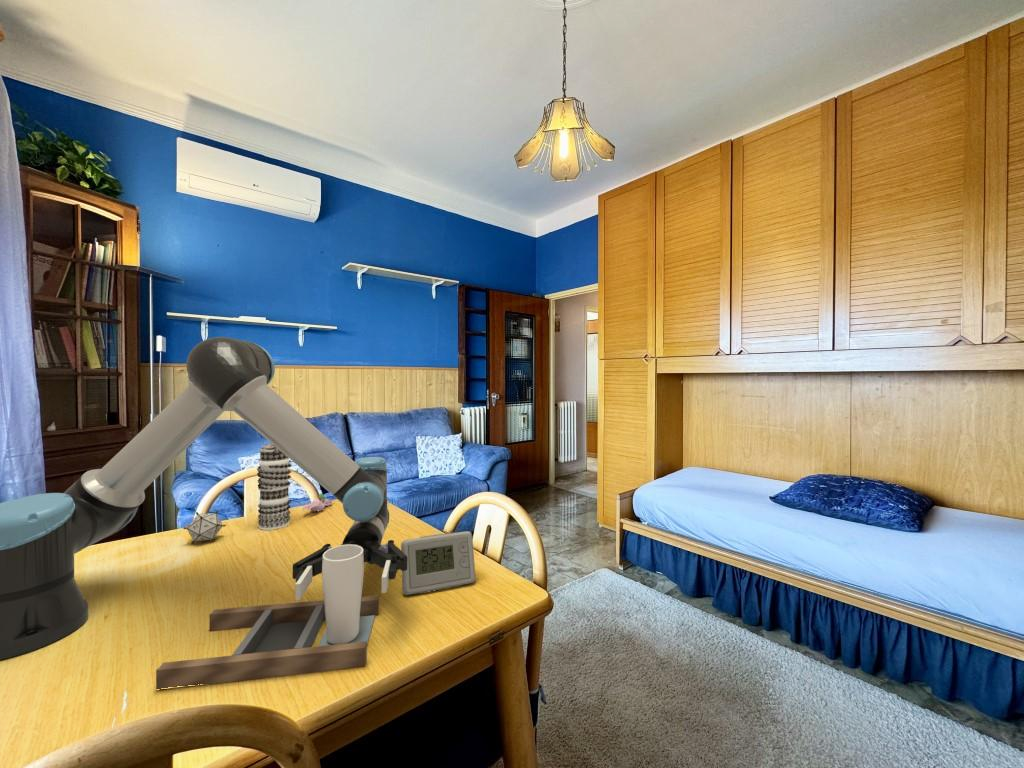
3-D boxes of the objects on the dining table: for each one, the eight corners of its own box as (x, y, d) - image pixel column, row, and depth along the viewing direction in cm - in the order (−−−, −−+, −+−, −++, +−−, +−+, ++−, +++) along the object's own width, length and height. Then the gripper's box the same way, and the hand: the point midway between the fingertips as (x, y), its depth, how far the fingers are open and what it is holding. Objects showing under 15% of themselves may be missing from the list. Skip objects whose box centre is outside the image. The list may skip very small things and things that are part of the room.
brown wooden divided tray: (156, 690, 59) (156, 670, 59) (214, 625, 74) (214, 609, 74) (364, 666, 64) (364, 647, 64) (378, 610, 79) (378, 595, 79)
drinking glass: (354, 650, 68) (354, 561, 67) (314, 649, 68) (314, 560, 67) (369, 625, 74) (369, 544, 74) (332, 624, 74) (332, 543, 74)
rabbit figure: (321, 507, 145) (295, 514, 131) (322, 490, 146) (297, 496, 132) (337, 508, 145) (314, 515, 130) (339, 491, 146) (315, 496, 131)
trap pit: (232, 674, 62) (231, 655, 62) (265, 626, 74) (265, 610, 74) (302, 666, 64) (301, 647, 64) (323, 620, 76) (323, 604, 76)
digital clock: (399, 598, 84) (399, 548, 84) (402, 577, 93) (403, 531, 93) (477, 592, 87) (477, 542, 87) (473, 572, 96) (473, 527, 95)
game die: (206, 556, 111) (196, 536, 105) (182, 543, 112) (171, 522, 106) (235, 531, 118) (228, 510, 112) (212, 518, 119) (204, 497, 113)
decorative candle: (297, 519, 129) (297, 441, 129) (281, 530, 120) (281, 446, 120) (268, 519, 129) (268, 441, 128) (250, 530, 120) (250, 446, 119)
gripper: (422, 551, 91) (417, 603, 70) (302, 559, 86) (260, 618, 65) (422, 518, 91) (418, 560, 70) (302, 524, 86) (259, 572, 65)
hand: (341, 588), depth 68 cm, fingers open, 13 cm apart
